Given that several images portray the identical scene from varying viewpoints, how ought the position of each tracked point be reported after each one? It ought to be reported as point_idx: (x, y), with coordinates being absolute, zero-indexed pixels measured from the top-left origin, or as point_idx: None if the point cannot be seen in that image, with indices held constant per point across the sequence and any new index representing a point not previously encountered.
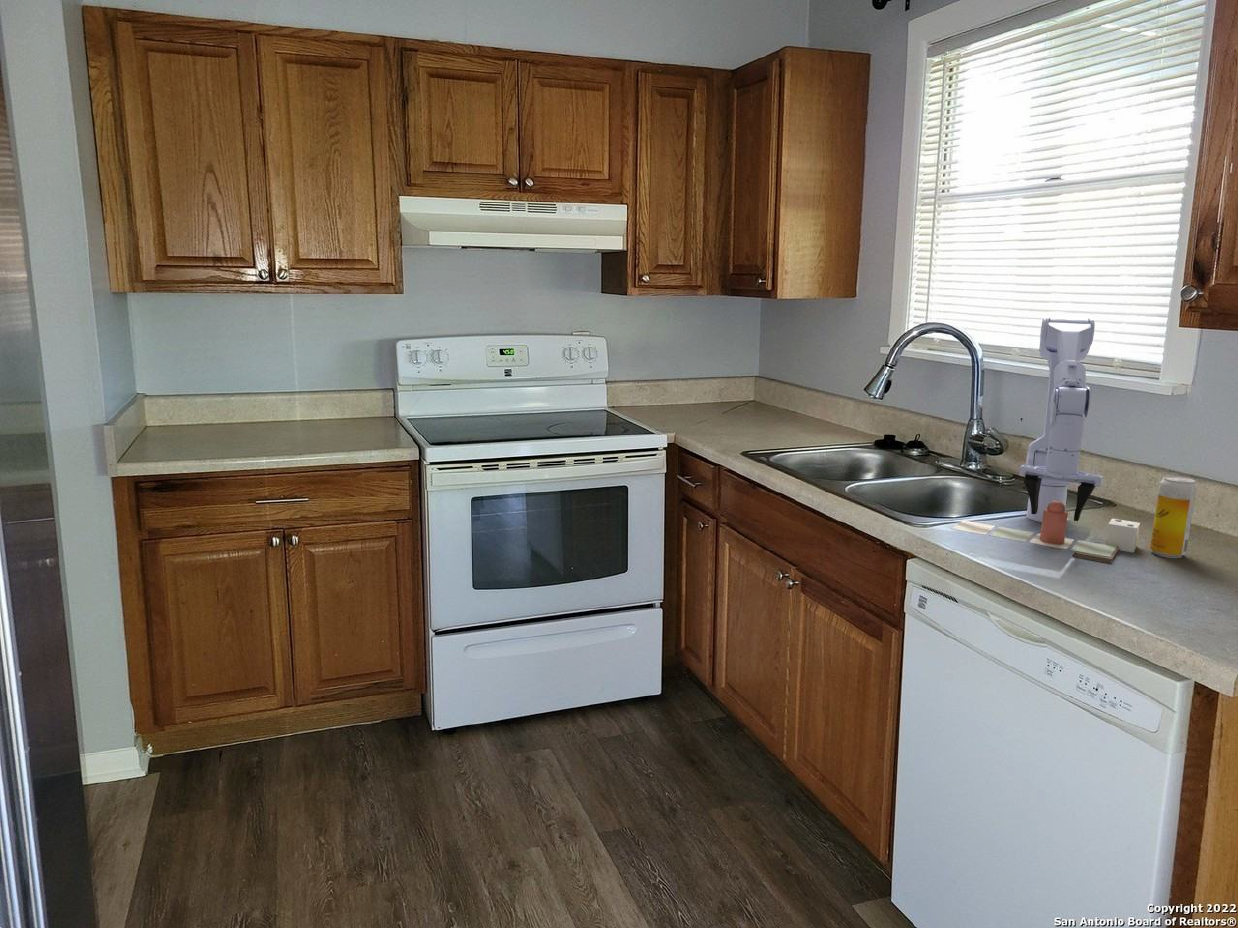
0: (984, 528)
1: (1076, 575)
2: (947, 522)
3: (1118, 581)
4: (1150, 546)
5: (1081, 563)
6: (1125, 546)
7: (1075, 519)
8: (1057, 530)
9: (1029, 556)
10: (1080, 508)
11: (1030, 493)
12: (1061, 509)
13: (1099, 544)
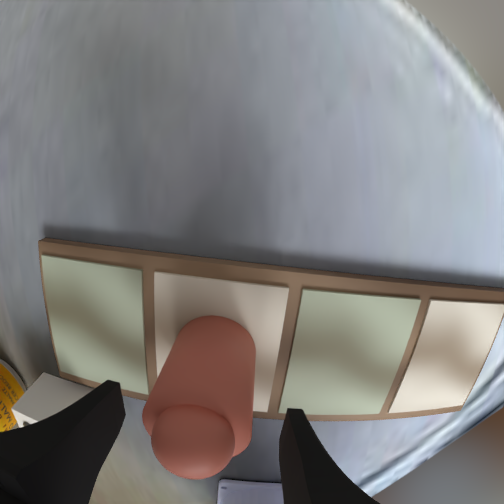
0: (424, 369)
1: (118, 33)
2: (482, 393)
3: (30, 68)
4: (21, 392)
5: (106, 178)
6: (52, 384)
7: (110, 384)
8: (185, 345)
9: (273, 155)
10: (68, 406)
11: (336, 478)
12: (160, 420)
13: (93, 375)
